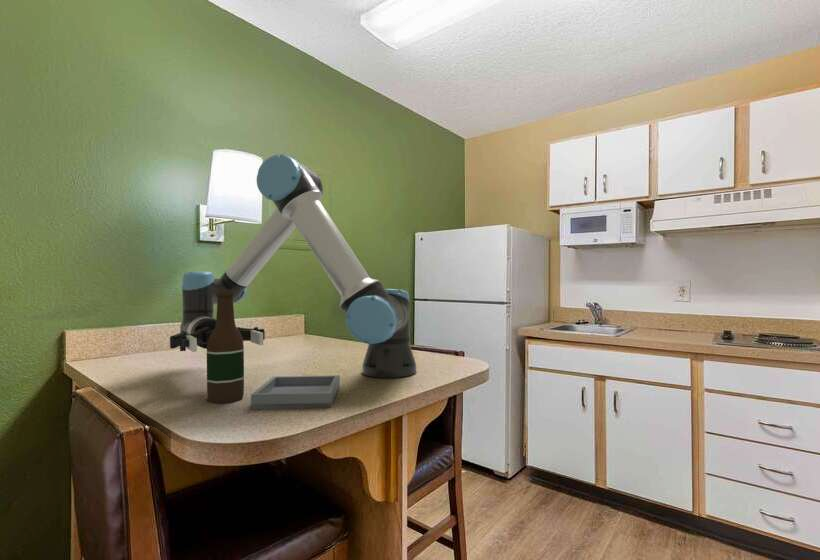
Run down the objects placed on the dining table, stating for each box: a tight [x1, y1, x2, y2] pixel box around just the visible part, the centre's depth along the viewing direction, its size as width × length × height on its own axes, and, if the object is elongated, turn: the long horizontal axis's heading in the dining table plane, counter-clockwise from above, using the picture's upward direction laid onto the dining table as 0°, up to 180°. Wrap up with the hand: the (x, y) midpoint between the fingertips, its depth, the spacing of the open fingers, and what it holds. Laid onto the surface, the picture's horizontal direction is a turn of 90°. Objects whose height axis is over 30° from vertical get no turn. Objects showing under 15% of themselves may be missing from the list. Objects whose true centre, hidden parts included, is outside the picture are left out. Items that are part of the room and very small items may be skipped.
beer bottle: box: [206, 290, 245, 405], centre depth 93 cm, size 8×8×24 cm
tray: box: [250, 374, 341, 410], centre depth 94 cm, size 16×16×3 cm
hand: (229, 341), depth 91 cm, fingers open, 13 cm apart
